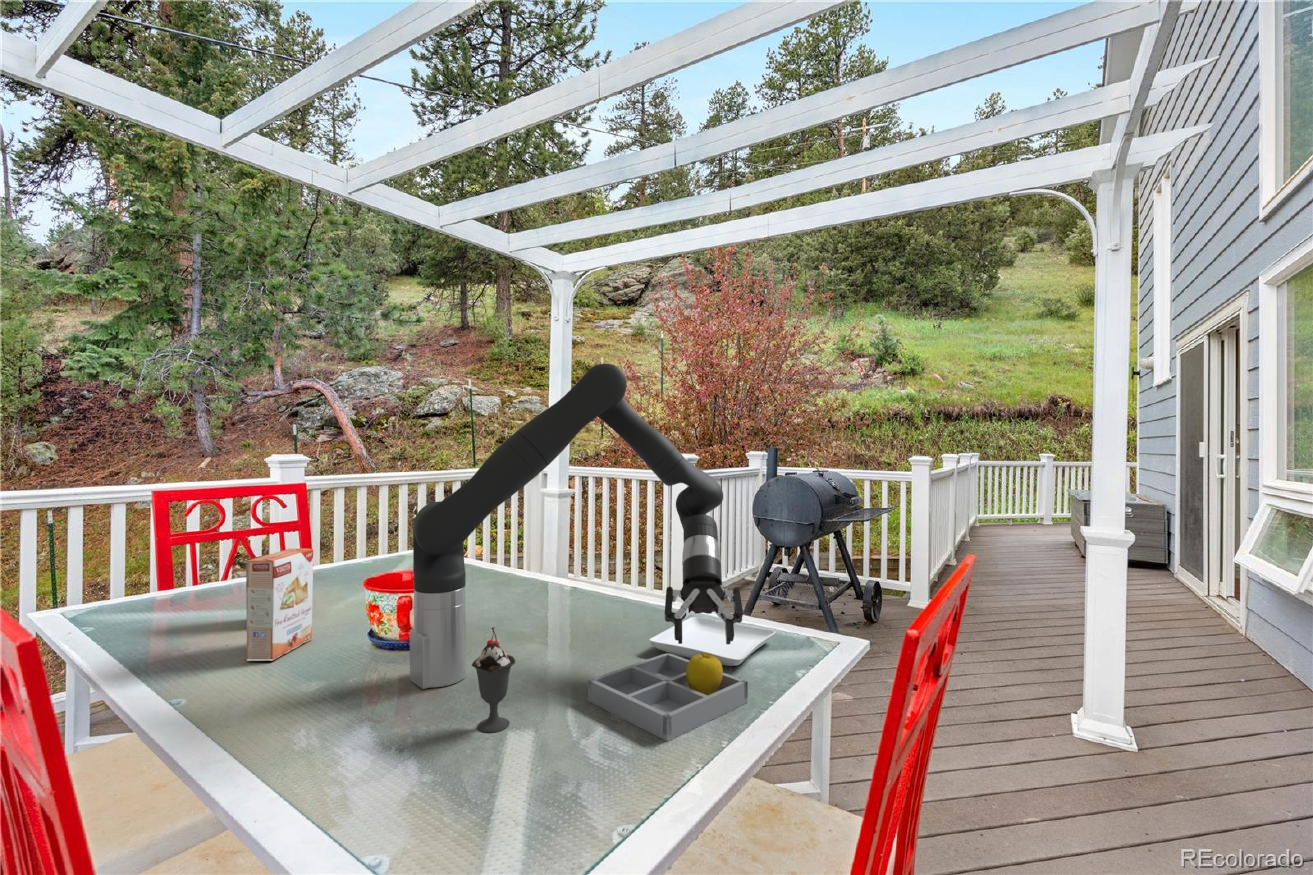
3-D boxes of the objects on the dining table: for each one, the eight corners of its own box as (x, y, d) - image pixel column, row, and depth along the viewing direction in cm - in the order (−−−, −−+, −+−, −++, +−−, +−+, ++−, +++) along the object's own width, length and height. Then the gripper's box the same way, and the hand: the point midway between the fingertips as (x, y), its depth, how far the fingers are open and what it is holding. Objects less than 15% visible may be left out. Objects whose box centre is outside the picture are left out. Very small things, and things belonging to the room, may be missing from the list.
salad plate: (777, 644, 136) (777, 628, 136) (740, 676, 117) (740, 658, 117) (692, 629, 146) (692, 614, 146) (646, 656, 128) (646, 639, 128)
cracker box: (274, 663, 123) (274, 560, 123) (245, 663, 123) (244, 559, 123) (314, 640, 137) (314, 547, 137) (288, 640, 137) (288, 547, 137)
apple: (693, 706, 101) (693, 658, 101) (680, 691, 107) (681, 646, 107) (728, 702, 103) (728, 655, 103) (714, 687, 109) (714, 642, 109)
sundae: (498, 712, 101) (497, 621, 101) (523, 724, 97) (523, 629, 97) (463, 726, 96) (463, 631, 96) (488, 740, 92) (488, 640, 92)
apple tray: (667, 741, 91) (667, 717, 91) (588, 700, 105) (587, 680, 105) (747, 702, 105) (747, 681, 105) (667, 670, 119) (667, 652, 119)
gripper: (665, 552, 117) (664, 631, 105) (739, 553, 116) (746, 632, 105) (665, 574, 122) (664, 651, 111) (736, 574, 122) (743, 652, 110)
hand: (704, 642), depth 108 cm, fingers open, 8 cm apart
